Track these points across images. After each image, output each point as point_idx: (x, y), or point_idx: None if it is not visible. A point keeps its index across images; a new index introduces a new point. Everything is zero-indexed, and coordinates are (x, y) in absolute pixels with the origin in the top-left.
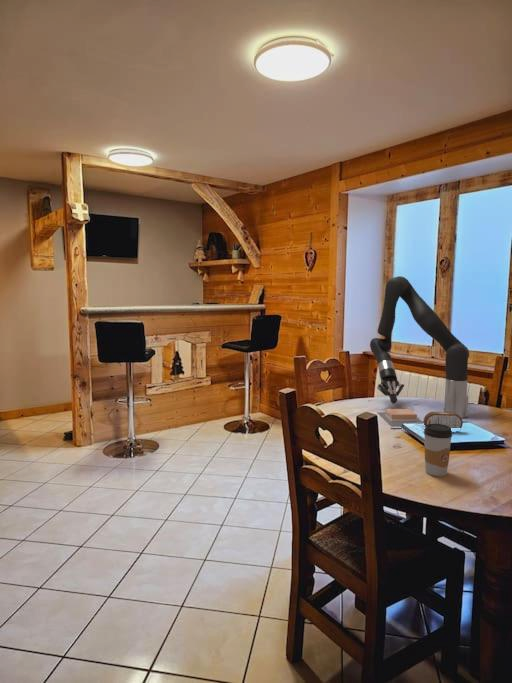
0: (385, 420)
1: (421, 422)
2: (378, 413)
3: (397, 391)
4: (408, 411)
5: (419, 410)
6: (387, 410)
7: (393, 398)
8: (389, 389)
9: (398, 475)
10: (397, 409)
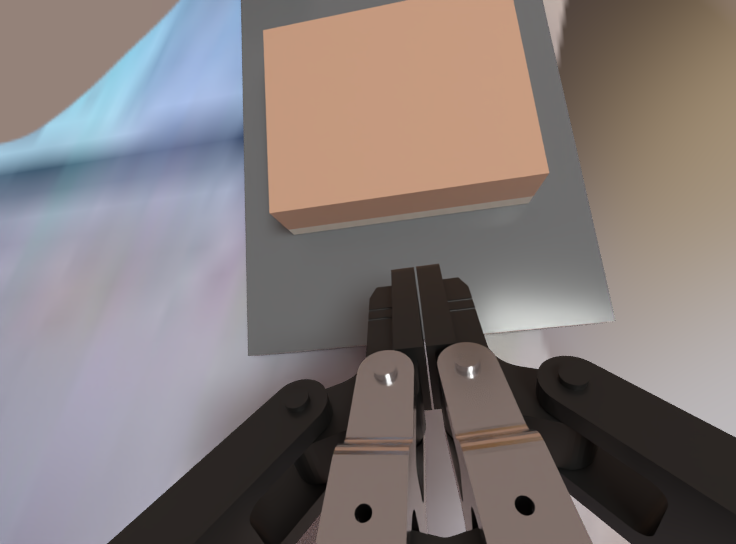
0: (549, 48)
1: (261, 50)
2: (595, 274)
3: (315, 415)
4: (311, 114)
5: (121, 528)
6: (533, 117)
7: (433, 286)
8: (528, 431)
9: None
10: (408, 175)
